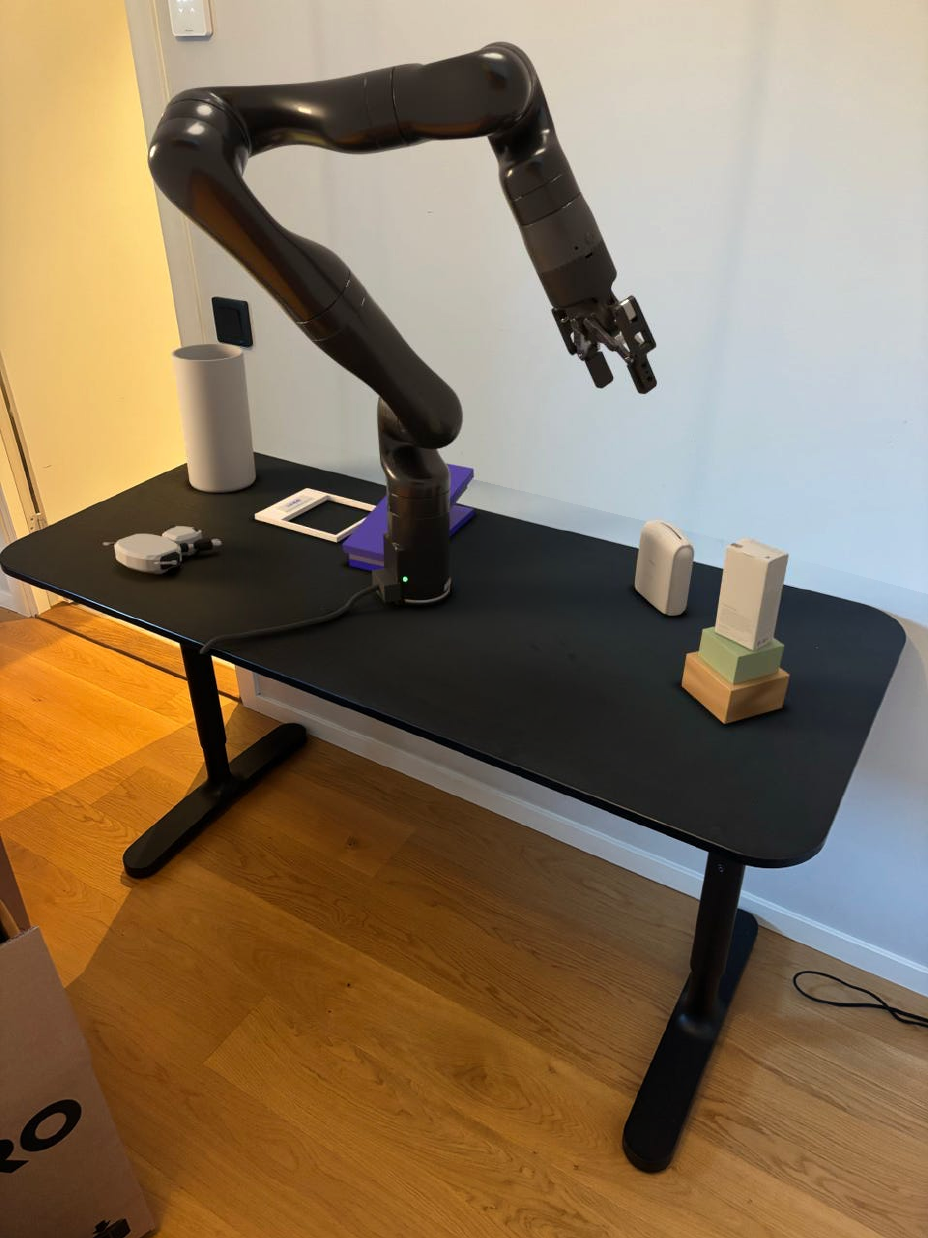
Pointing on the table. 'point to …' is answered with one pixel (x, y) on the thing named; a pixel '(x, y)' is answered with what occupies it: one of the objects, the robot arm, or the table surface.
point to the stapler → (369, 534)
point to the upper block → (739, 657)
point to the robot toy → (161, 548)
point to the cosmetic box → (750, 593)
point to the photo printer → (664, 567)
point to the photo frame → (302, 503)
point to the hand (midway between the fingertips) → (626, 387)
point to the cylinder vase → (215, 416)
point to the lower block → (733, 691)
